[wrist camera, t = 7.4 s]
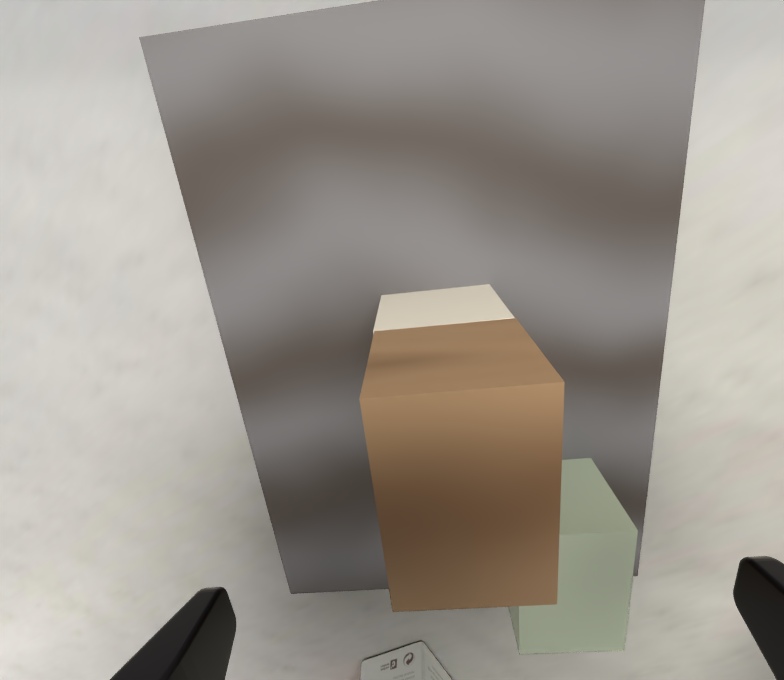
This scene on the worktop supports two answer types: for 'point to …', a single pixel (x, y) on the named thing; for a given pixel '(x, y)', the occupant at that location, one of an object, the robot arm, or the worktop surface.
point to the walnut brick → (465, 464)
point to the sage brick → (584, 571)
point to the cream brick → (440, 307)
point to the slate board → (430, 220)
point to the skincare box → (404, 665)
